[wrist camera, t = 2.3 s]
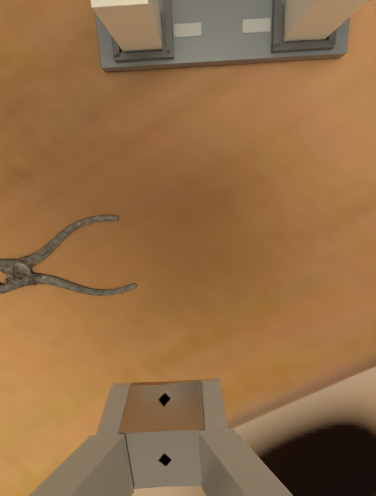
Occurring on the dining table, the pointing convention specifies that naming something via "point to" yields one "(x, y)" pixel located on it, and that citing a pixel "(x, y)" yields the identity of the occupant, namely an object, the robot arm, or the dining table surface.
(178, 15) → the grey rectangular board
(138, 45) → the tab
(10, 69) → the dining table surface
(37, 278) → the pliers
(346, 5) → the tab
